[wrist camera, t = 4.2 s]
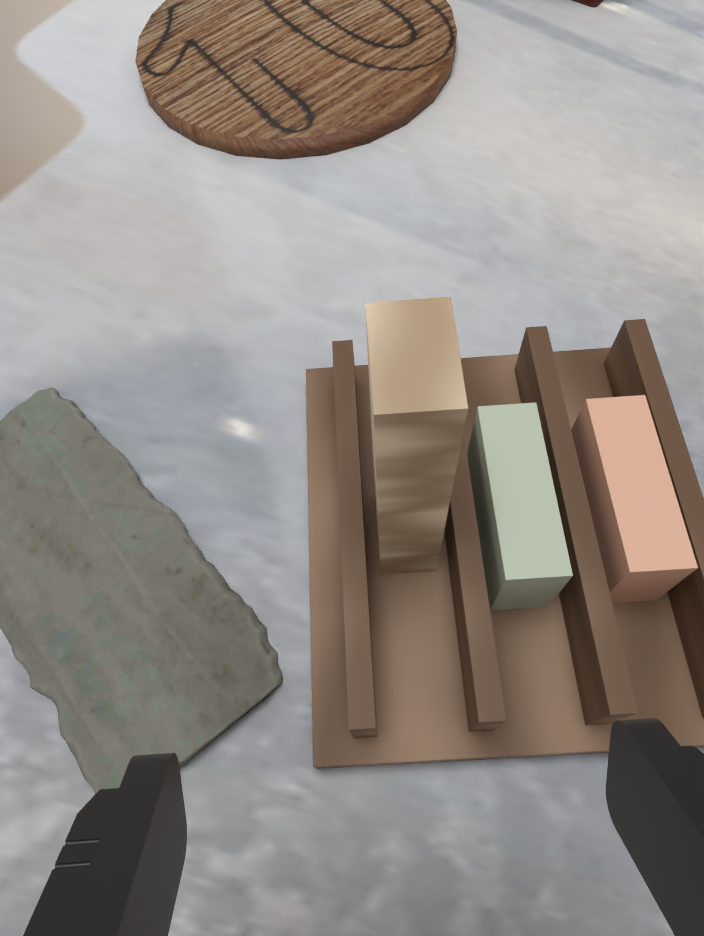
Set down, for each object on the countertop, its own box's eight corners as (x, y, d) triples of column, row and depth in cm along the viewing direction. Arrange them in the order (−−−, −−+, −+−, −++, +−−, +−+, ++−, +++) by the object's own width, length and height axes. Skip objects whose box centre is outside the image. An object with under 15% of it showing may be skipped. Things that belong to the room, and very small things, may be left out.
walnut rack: (317, 768, 28) (303, 762, 24) (308, 384, 37) (298, 328, 33) (720, 746, 28) (783, 735, 23) (611, 363, 37) (641, 303, 32)
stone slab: (135, 827, 29) (304, 670, 30) (103, 835, 26) (289, 664, 28) (-66, 491, 38) (73, 382, 39) (-104, 474, 35) (46, 357, 37)
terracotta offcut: (597, 603, 29) (630, 572, 25) (562, 448, 33) (585, 399, 29) (655, 600, 29) (698, 568, 25) (614, 444, 33) (645, 395, 29)
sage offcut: (489, 610, 29) (505, 579, 25) (466, 454, 33) (477, 406, 29) (548, 606, 29) (572, 575, 25) (518, 451, 33) (536, 402, 29)
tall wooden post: (380, 574, 30) (373, 414, 18) (374, 496, 32) (365, 303, 20) (436, 570, 30) (467, 408, 18) (427, 493, 32) (451, 296, 20)
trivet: (272, 215, 44) (268, 191, 43) (85, 62, 54) (75, 38, 52) (521, 54, 51) (525, 29, 49) (316, -56, 60) (314, -81, 59)
